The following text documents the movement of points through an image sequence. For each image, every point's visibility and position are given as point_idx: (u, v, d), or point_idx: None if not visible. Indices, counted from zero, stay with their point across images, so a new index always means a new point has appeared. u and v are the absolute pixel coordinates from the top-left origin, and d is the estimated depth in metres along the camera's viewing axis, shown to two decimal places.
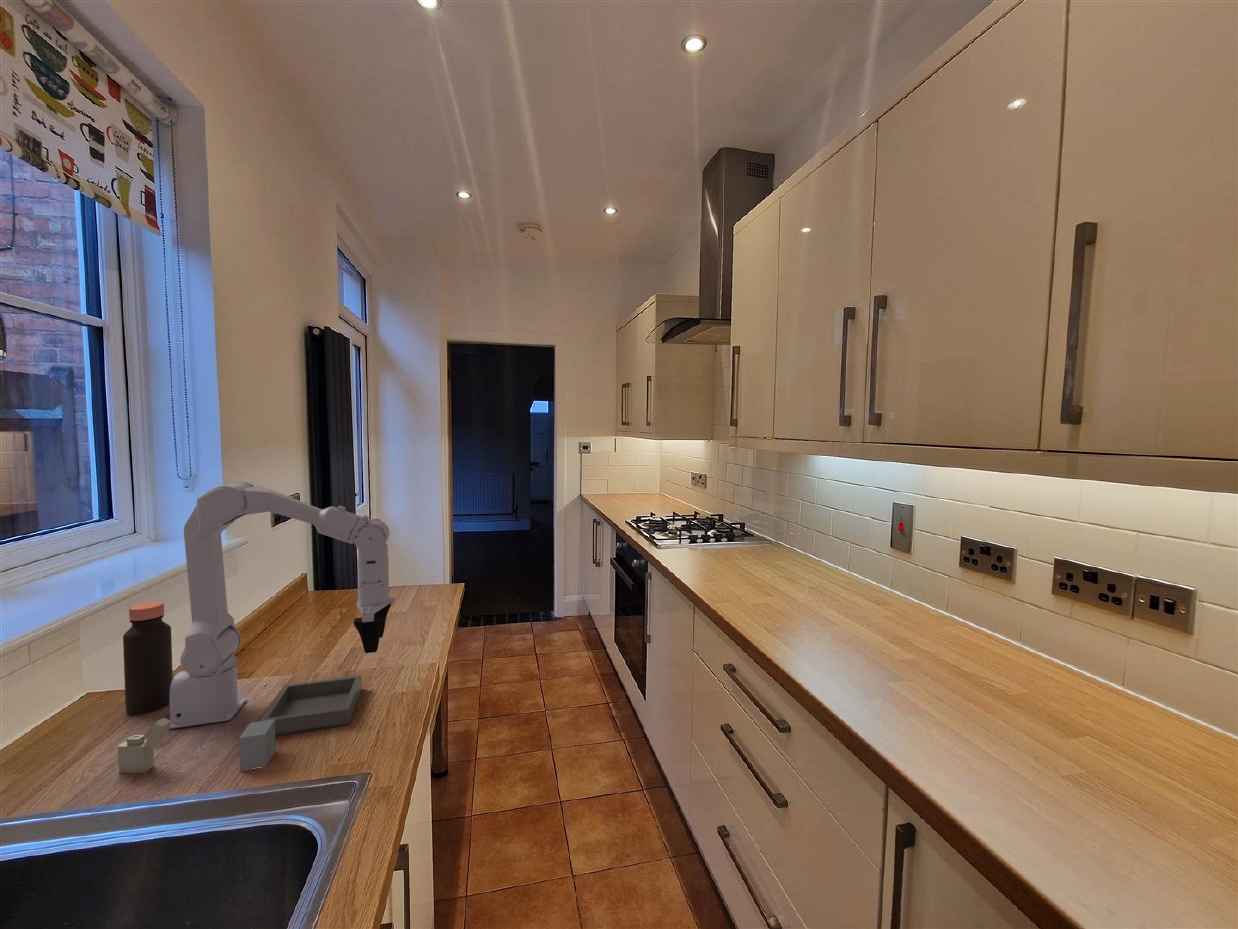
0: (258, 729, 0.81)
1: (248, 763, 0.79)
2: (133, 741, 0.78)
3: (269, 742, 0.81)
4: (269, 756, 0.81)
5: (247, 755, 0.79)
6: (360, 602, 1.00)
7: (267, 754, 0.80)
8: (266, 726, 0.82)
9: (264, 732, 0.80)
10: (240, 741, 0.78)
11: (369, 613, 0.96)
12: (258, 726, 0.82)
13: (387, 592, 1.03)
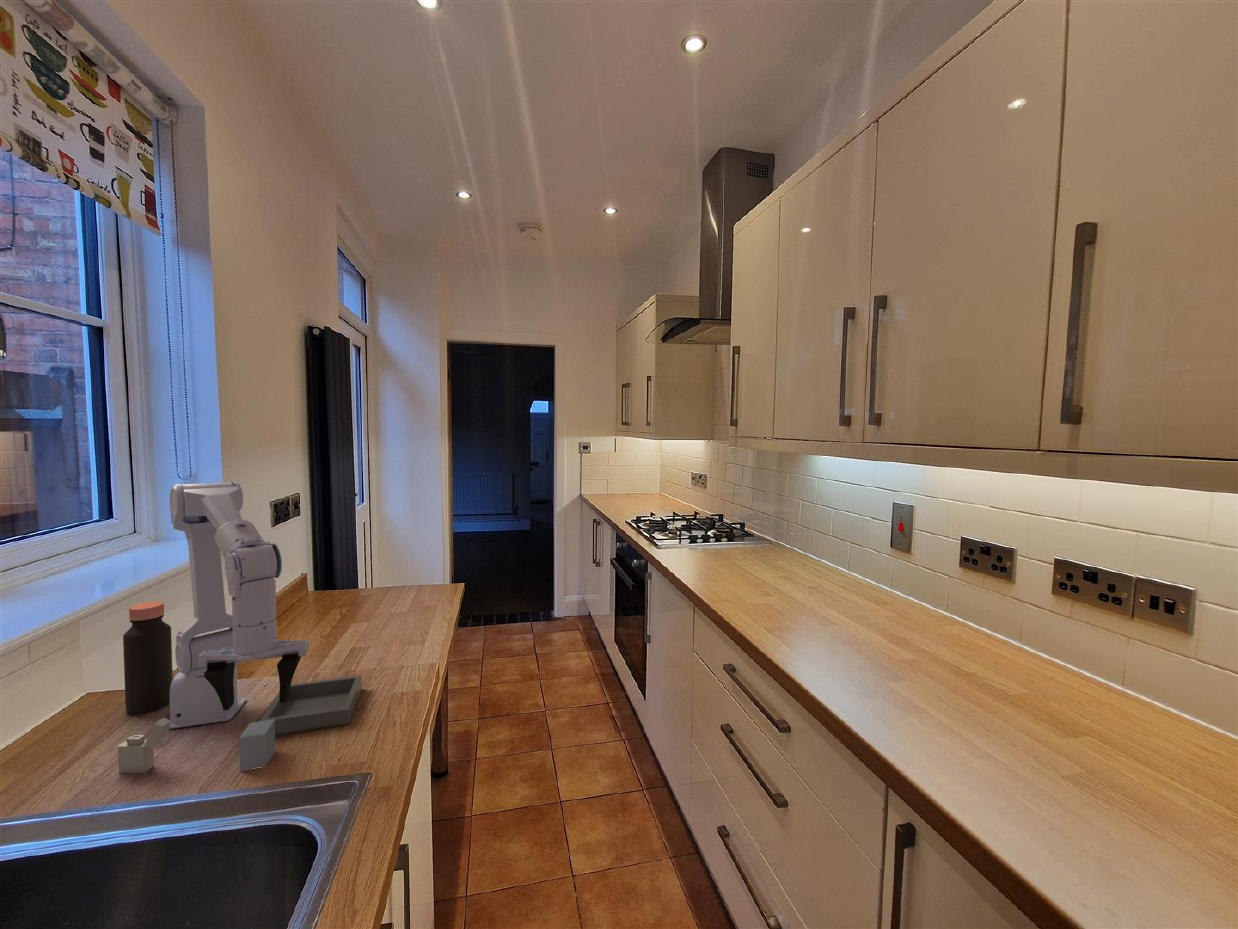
0: (258, 729, 0.81)
1: (248, 763, 0.79)
2: (133, 741, 0.78)
3: (269, 742, 0.81)
4: (269, 756, 0.81)
5: (247, 755, 0.79)
6: None
7: (267, 754, 0.80)
8: (266, 726, 0.82)
9: (264, 732, 0.80)
10: (240, 741, 0.78)
11: None
12: (258, 726, 0.82)
13: (242, 644, 0.78)
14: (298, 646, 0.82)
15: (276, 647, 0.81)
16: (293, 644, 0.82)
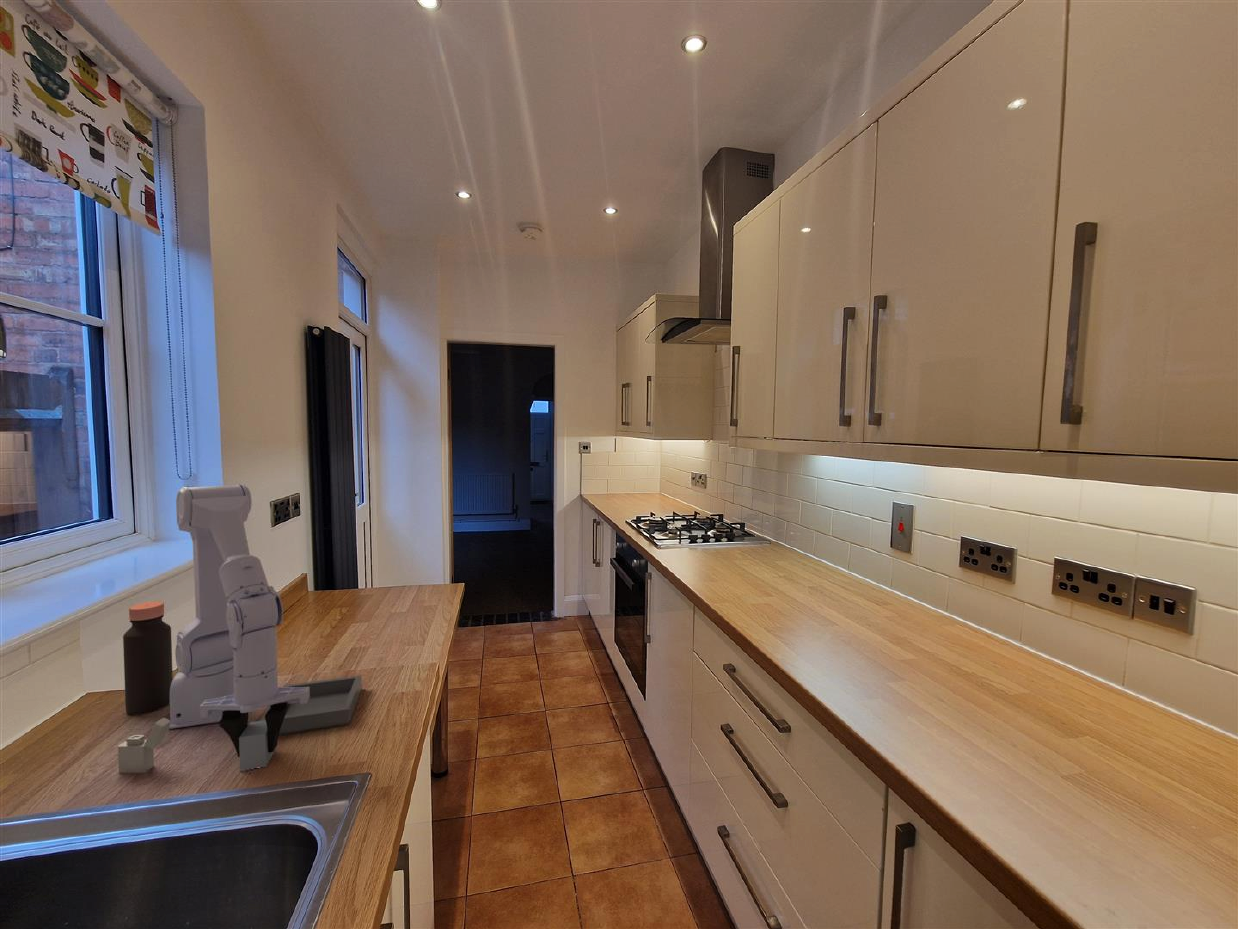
0: (258, 729, 0.81)
1: (248, 763, 0.79)
2: (133, 741, 0.78)
3: None
4: (269, 756, 0.81)
5: (247, 755, 0.79)
6: None
7: (267, 753, 0.80)
8: (266, 726, 0.82)
9: (264, 732, 0.80)
10: (240, 741, 0.78)
11: None
12: (258, 726, 0.82)
13: (244, 694, 0.78)
14: (299, 694, 0.82)
15: (277, 695, 0.81)
16: (294, 691, 0.82)
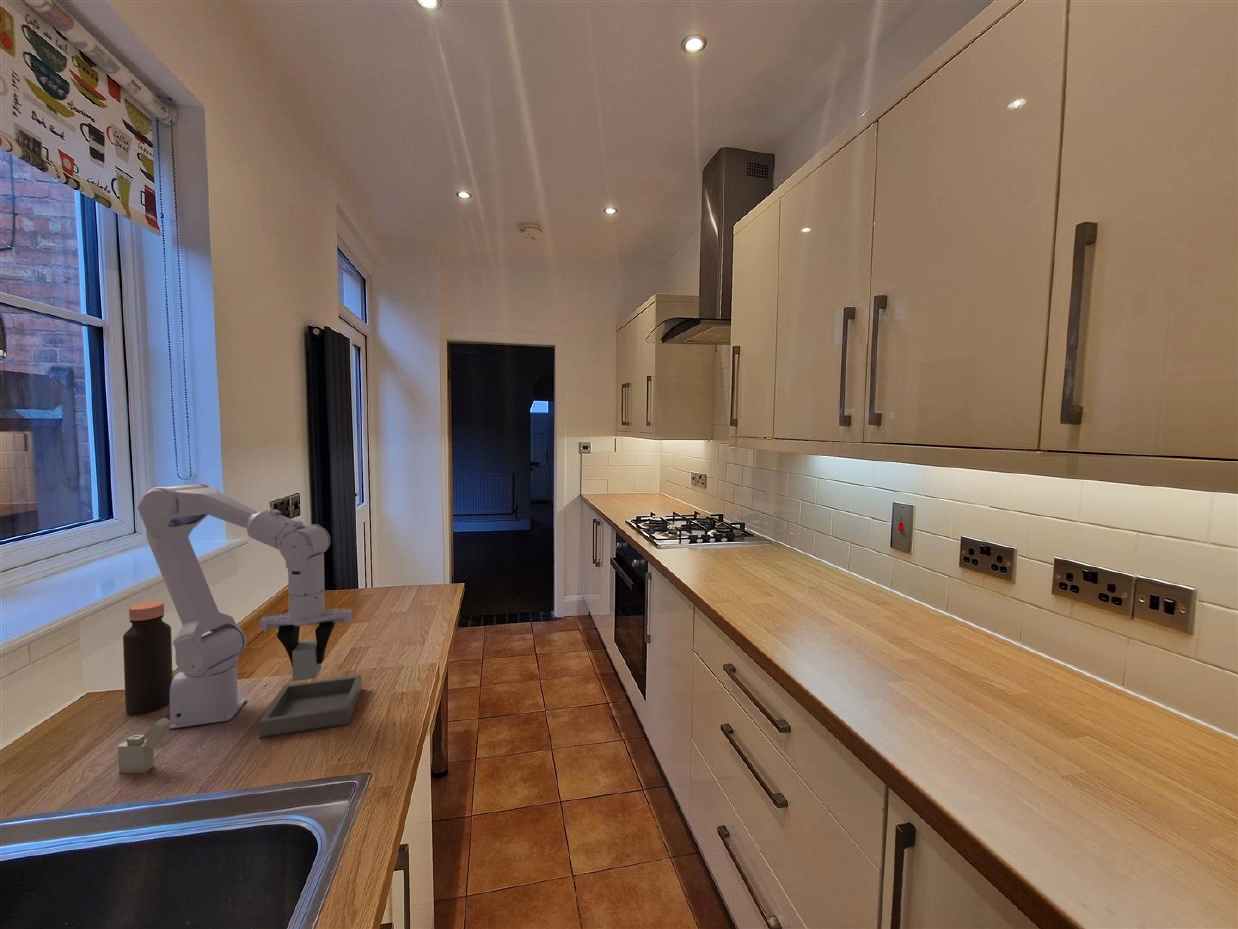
0: (307, 646, 0.93)
1: (300, 673, 0.91)
2: (133, 741, 0.78)
3: None
4: (317, 670, 0.93)
5: (299, 667, 0.91)
6: None
7: (315, 667, 0.92)
8: (314, 644, 0.94)
9: (313, 648, 0.92)
10: (293, 654, 0.91)
11: None
12: (307, 644, 0.94)
13: (297, 610, 0.91)
14: (343, 614, 0.94)
15: (324, 615, 0.94)
16: (338, 612, 0.95)
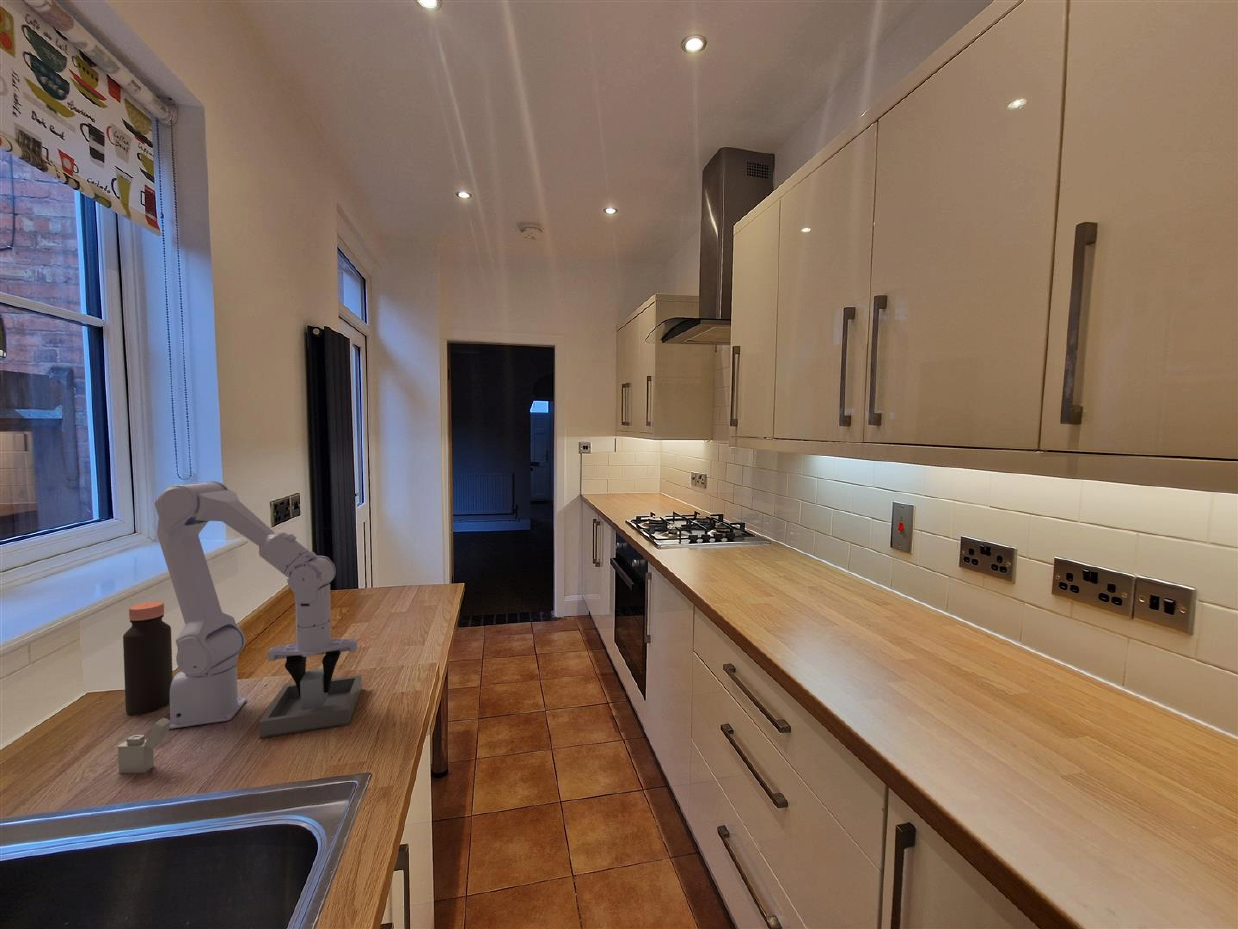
0: (315, 675, 0.95)
1: (307, 703, 0.93)
2: (133, 741, 0.78)
3: None
4: (324, 698, 0.96)
5: (307, 696, 0.93)
6: None
7: (322, 696, 0.95)
8: (321, 673, 0.96)
9: (320, 677, 0.94)
10: (301, 684, 0.93)
11: None
12: (314, 673, 0.96)
13: (305, 641, 0.93)
14: (349, 643, 0.97)
15: (331, 644, 0.96)
16: (345, 642, 0.97)
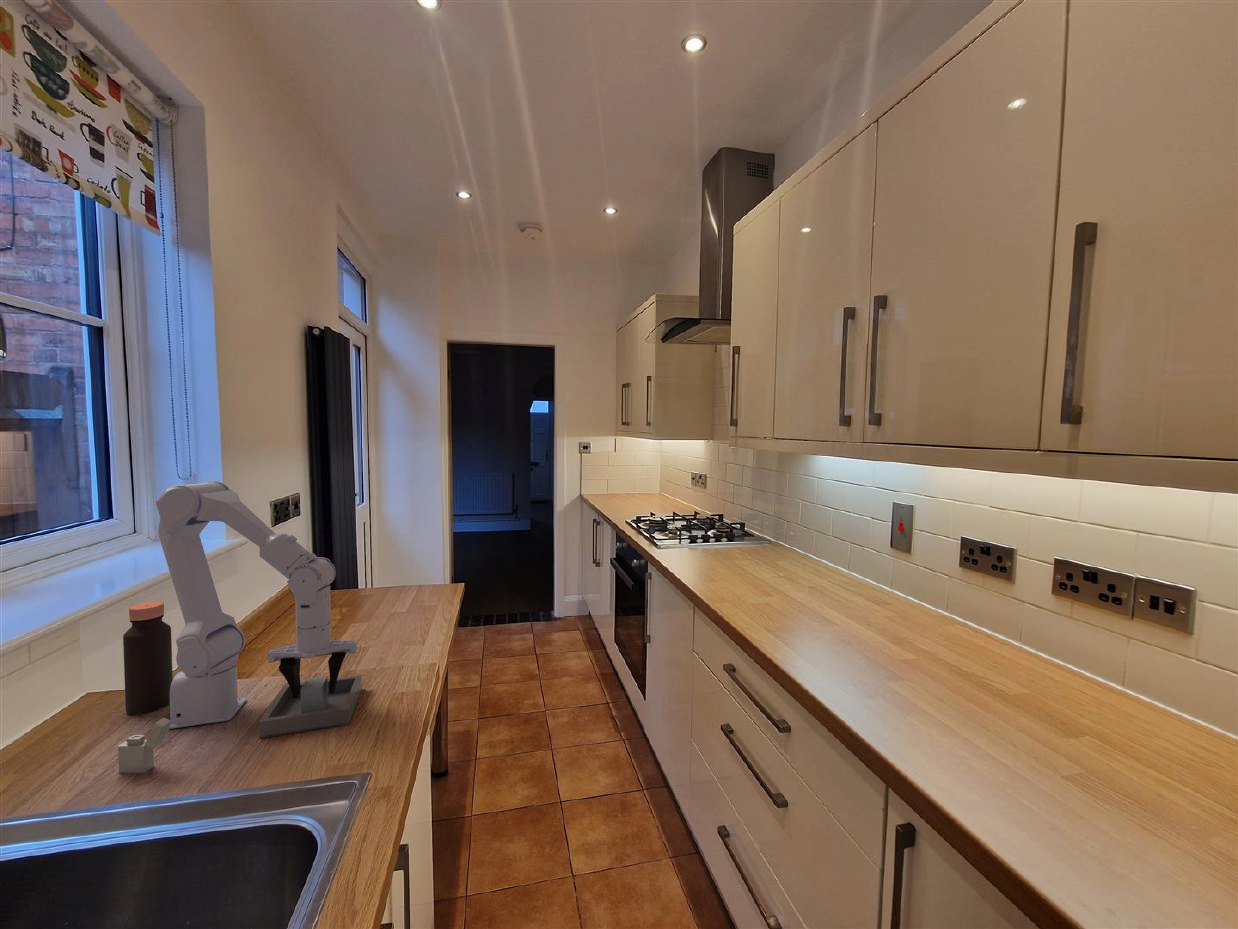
0: (315, 683, 0.95)
1: (308, 711, 0.93)
2: (133, 741, 0.78)
3: (324, 694, 0.96)
4: (324, 706, 0.96)
5: (307, 704, 0.93)
6: None
7: (323, 704, 0.95)
8: (322, 681, 0.96)
9: (321, 685, 0.94)
10: (301, 692, 0.93)
11: None
12: (315, 681, 0.96)
13: (305, 643, 0.93)
14: (349, 645, 0.97)
15: (331, 646, 0.96)
16: (345, 643, 0.97)
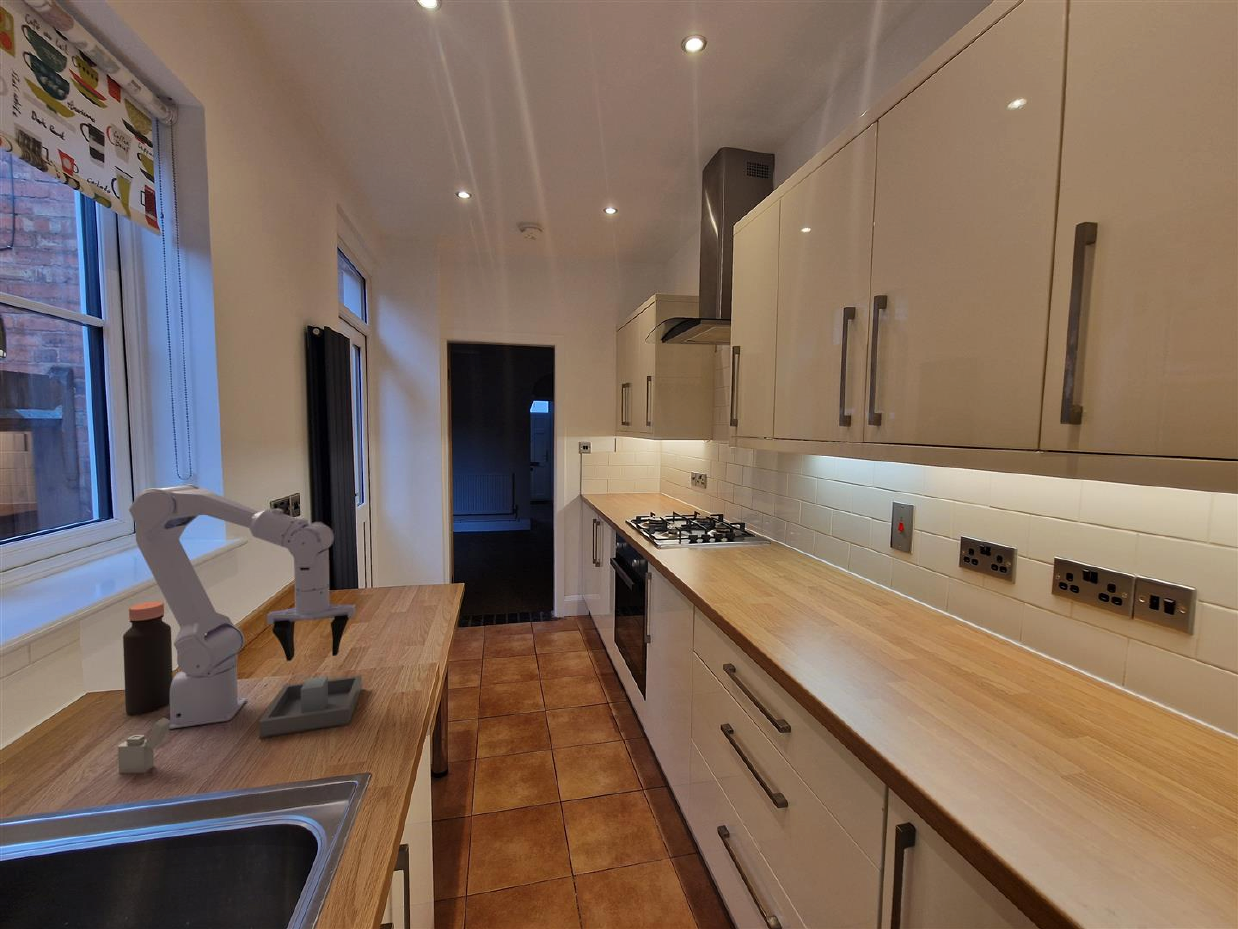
0: (315, 683, 0.95)
1: (308, 711, 0.93)
2: (133, 741, 0.78)
3: (324, 694, 0.96)
4: (324, 706, 0.96)
5: (307, 704, 0.93)
6: None
7: (323, 704, 0.95)
8: (322, 681, 0.96)
9: (321, 685, 0.94)
10: (301, 692, 0.93)
11: None
12: (315, 681, 0.96)
13: (303, 605, 0.94)
14: (347, 609, 0.97)
15: (329, 609, 0.97)
16: (343, 607, 0.98)
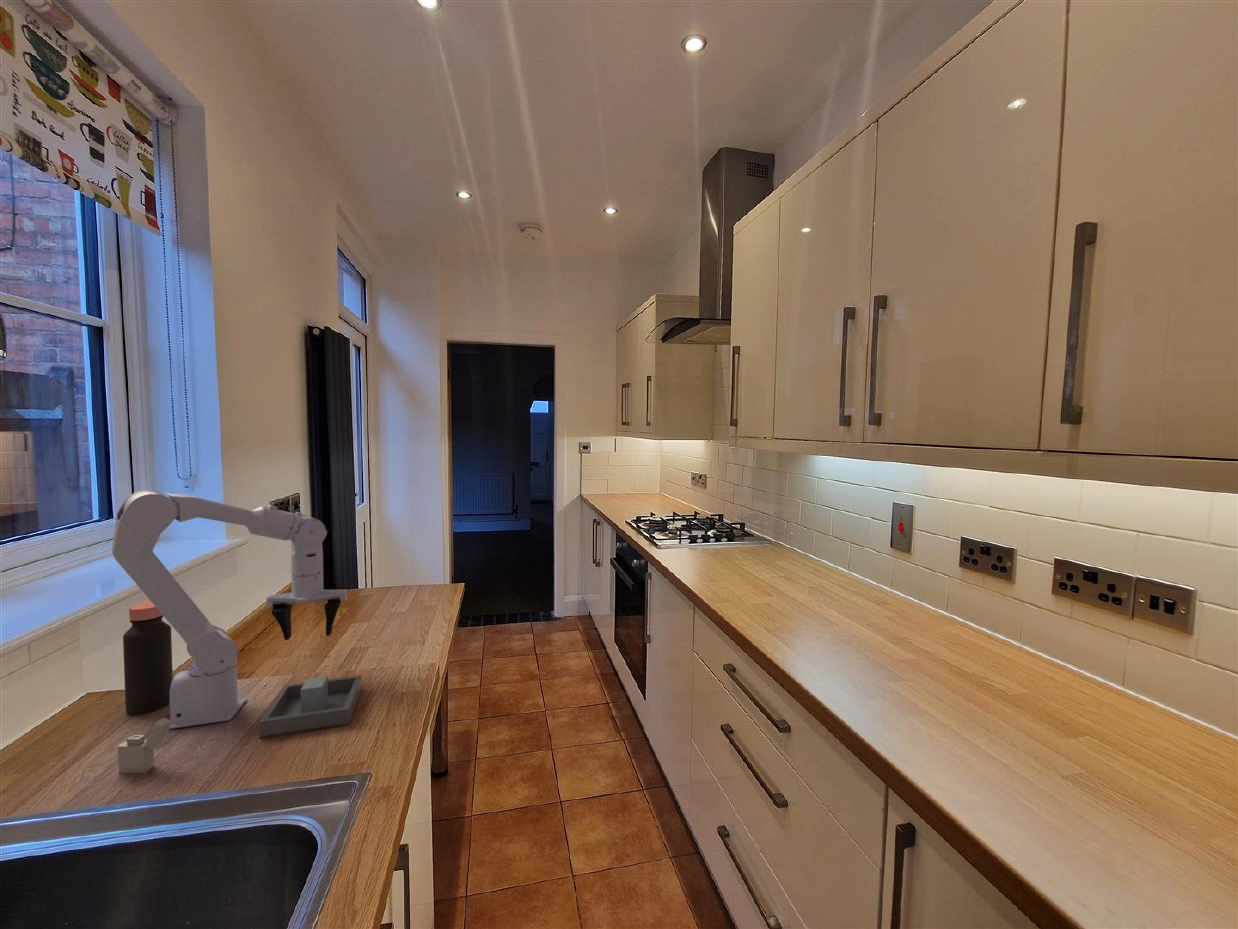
0: (315, 683, 0.95)
1: (308, 711, 0.93)
2: (133, 741, 0.78)
3: (324, 694, 0.96)
4: (324, 706, 0.96)
5: (307, 704, 0.93)
6: None
7: (323, 704, 0.95)
8: (322, 681, 0.96)
9: (321, 685, 0.94)
10: (301, 692, 0.93)
11: None
12: (315, 681, 0.96)
13: (299, 589, 1.03)
14: (339, 593, 1.07)
15: (323, 593, 1.07)
16: (335, 592, 1.08)
